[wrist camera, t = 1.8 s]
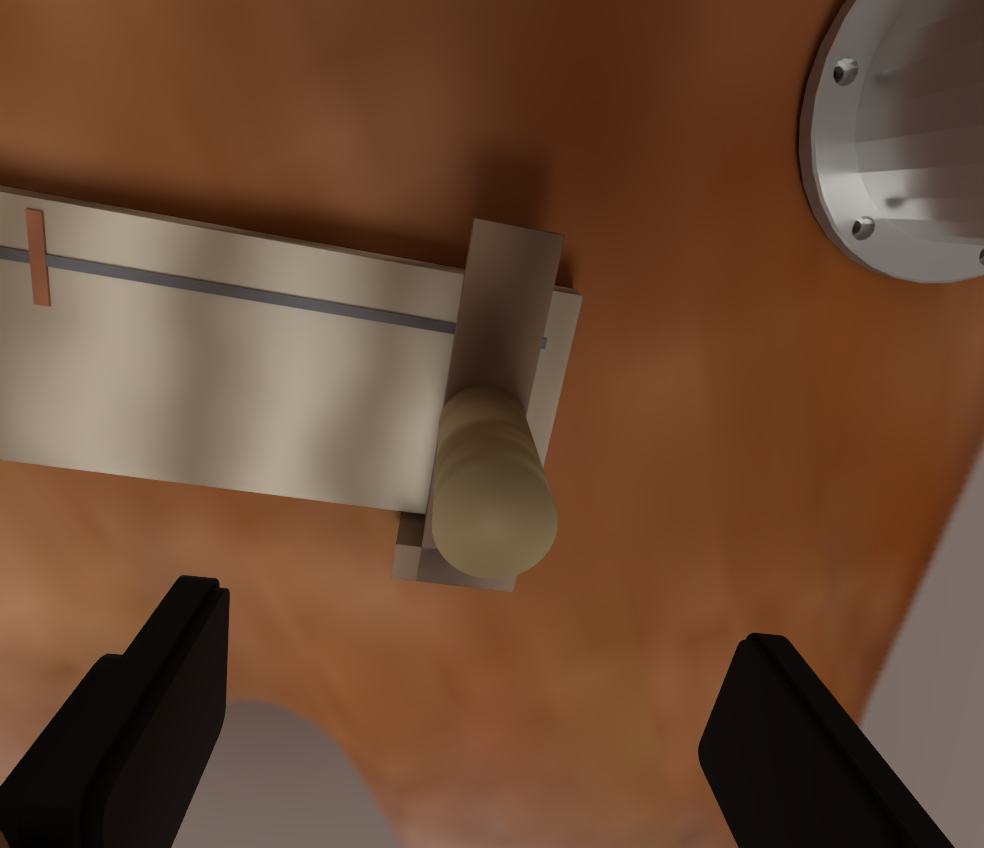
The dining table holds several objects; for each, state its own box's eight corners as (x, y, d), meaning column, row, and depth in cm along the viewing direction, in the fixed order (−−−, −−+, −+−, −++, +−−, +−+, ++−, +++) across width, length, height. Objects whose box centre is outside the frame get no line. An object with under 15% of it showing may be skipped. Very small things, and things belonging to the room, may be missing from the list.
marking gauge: (575, 236, 22) (666, 261, 13) (506, 547, 27) (534, 738, 17) (445, 211, 22) (437, 218, 12) (398, 534, 26) (366, 724, 17)
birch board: (573, 288, 24) (583, 296, 22) (524, 505, 27) (529, 529, 25) (-142, 159, 20) (-205, 155, 18) (-95, 422, 24) (-145, 442, 22)
